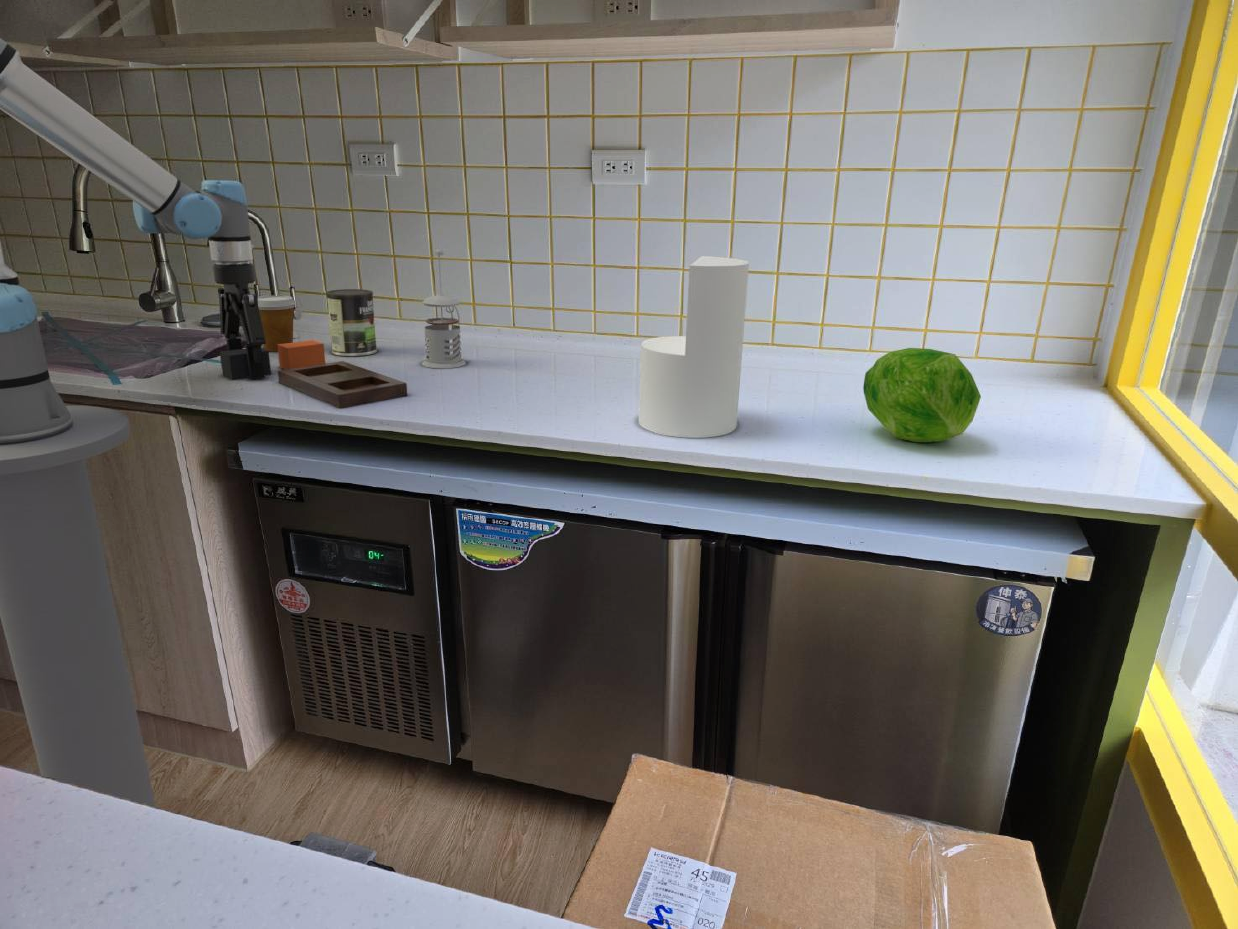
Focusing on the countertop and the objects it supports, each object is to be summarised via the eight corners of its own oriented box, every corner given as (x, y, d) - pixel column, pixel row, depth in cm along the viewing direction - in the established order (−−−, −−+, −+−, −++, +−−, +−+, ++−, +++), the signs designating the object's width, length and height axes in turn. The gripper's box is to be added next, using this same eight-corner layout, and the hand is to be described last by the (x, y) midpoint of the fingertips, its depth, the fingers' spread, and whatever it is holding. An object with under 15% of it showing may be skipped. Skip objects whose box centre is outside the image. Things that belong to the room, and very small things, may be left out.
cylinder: (739, 414, 151) (751, 258, 142) (732, 441, 135) (745, 268, 126) (647, 406, 154) (653, 253, 145) (629, 432, 138) (635, 263, 129)
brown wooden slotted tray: (339, 408, 148) (338, 394, 147) (278, 382, 164) (277, 370, 164) (407, 395, 157) (406, 382, 157) (343, 372, 174) (342, 361, 173)
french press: (413, 366, 181) (406, 249, 173) (438, 356, 192) (432, 245, 183) (454, 369, 179) (449, 252, 170) (476, 359, 189) (473, 247, 181)
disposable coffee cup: (300, 344, 200) (295, 294, 196) (299, 352, 192) (293, 300, 188) (258, 345, 197) (252, 295, 193) (255, 353, 189) (248, 301, 185)
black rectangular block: (232, 379, 166) (229, 355, 164) (222, 375, 169) (219, 351, 167) (271, 374, 171) (268, 350, 169) (261, 369, 174) (258, 346, 173)
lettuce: (1000, 439, 139) (968, 354, 145) (981, 405, 122) (944, 311, 128) (902, 473, 146) (874, 391, 152) (870, 445, 130) (841, 354, 136)
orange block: (290, 371, 174) (287, 348, 172) (279, 367, 177) (277, 344, 175) (325, 366, 179) (323, 343, 177) (315, 362, 182) (312, 339, 181)
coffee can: (384, 349, 197) (380, 289, 193) (364, 357, 188) (359, 295, 183) (344, 346, 199) (339, 287, 194) (323, 355, 189) (317, 293, 185)
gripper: (275, 266, 158) (288, 380, 165) (230, 257, 172) (244, 362, 180) (236, 268, 153) (251, 386, 160) (192, 258, 167) (208, 367, 174)
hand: (247, 373), depth 170 cm, fingers open, 9 cm apart
